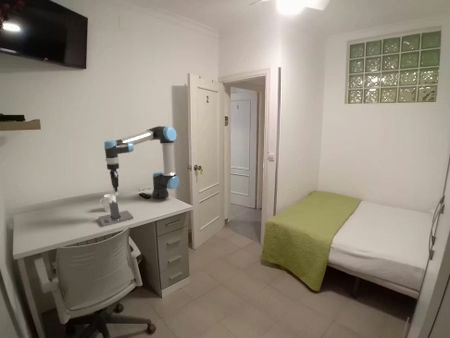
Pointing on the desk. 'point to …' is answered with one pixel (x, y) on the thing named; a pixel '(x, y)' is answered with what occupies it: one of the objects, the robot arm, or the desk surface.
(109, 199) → the mug
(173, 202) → the desk surface
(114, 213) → the plug
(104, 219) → the socket plate
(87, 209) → the desk surface
